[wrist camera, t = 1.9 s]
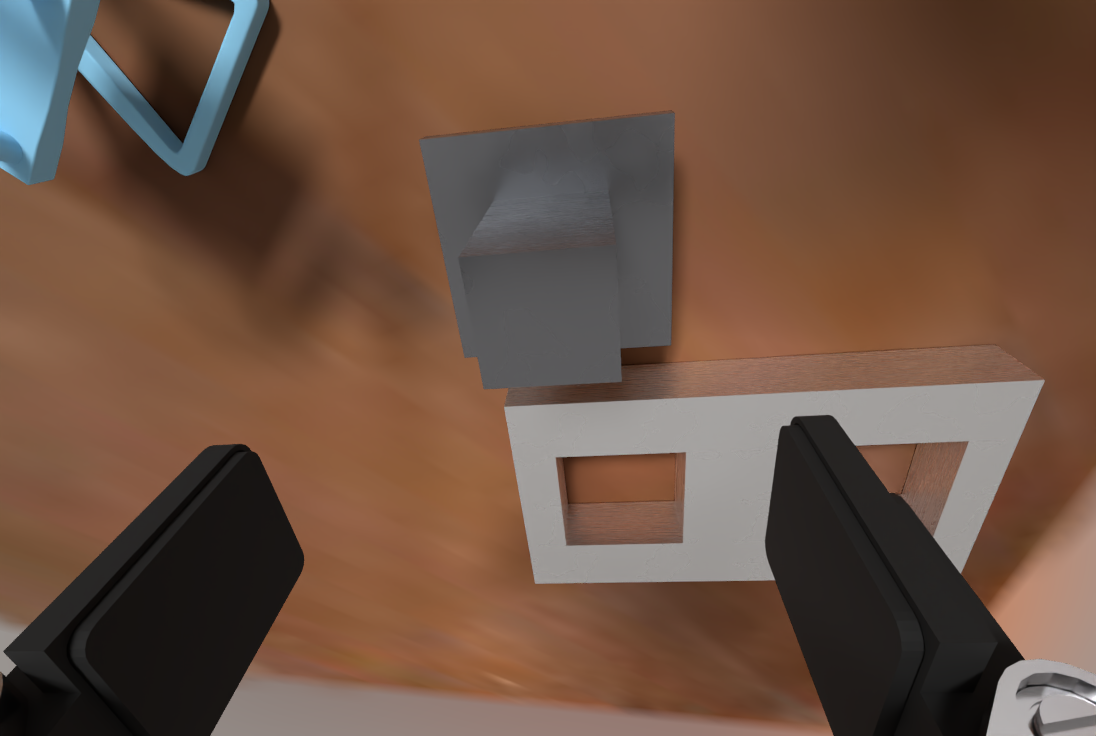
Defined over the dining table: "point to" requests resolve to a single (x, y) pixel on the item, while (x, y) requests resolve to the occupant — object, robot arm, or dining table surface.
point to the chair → (98, 85)
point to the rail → (757, 453)
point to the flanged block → (557, 244)
